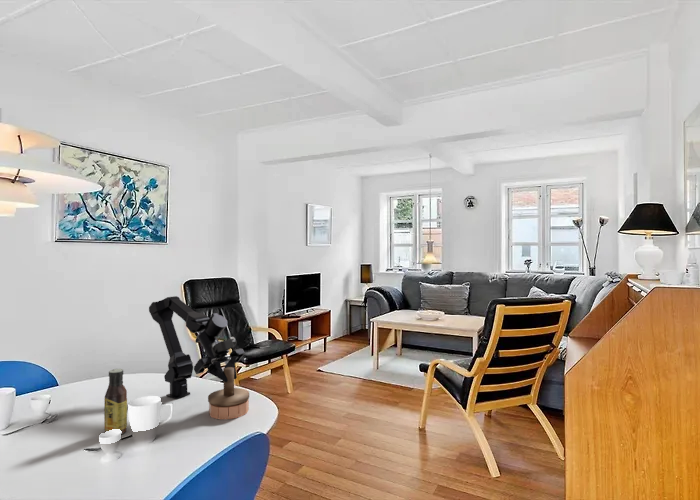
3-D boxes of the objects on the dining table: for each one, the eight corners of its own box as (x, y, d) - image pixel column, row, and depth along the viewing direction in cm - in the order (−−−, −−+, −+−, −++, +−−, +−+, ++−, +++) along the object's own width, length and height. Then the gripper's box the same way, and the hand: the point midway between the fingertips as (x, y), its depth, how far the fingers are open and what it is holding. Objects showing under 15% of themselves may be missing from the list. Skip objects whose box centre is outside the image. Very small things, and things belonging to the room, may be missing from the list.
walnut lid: (203, 406, 143) (203, 375, 143) (212, 392, 157) (212, 363, 157) (246, 404, 144) (246, 373, 144) (251, 390, 158) (251, 362, 158)
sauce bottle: (101, 433, 134) (100, 370, 134) (122, 427, 138) (122, 366, 138) (108, 439, 129) (107, 374, 129) (130, 433, 134) (129, 369, 134)
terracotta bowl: (201, 414, 148) (201, 403, 148) (229, 402, 159) (229, 391, 159) (228, 422, 142) (228, 410, 142) (255, 409, 153) (255, 398, 153)
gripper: (198, 335, 145) (220, 373, 139) (241, 326, 160) (262, 360, 154) (184, 355, 149) (204, 392, 143) (227, 344, 165) (247, 378, 159)
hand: (231, 380), depth 150 cm, fingers closed on walnut lid, 4 cm apart
